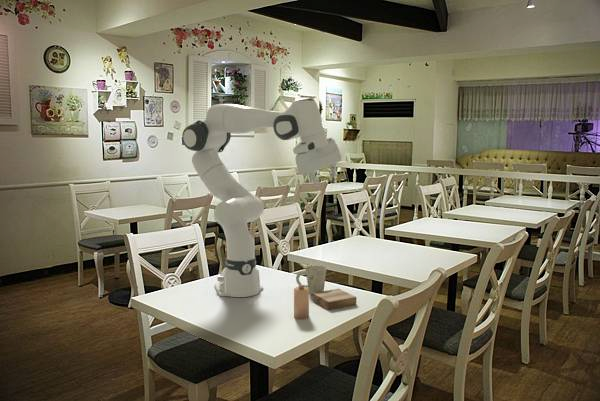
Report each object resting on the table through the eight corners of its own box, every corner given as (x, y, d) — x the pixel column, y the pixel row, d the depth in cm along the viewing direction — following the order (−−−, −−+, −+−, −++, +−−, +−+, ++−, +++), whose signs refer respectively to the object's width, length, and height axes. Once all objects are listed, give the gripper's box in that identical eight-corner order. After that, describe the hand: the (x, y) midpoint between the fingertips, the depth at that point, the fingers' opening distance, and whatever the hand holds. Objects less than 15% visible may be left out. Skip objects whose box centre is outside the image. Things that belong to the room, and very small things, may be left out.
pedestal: (312, 300, 193) (312, 293, 192) (338, 295, 198) (338, 288, 198) (329, 310, 182) (329, 302, 182) (356, 304, 188) (356, 297, 187)
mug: (324, 295, 198) (324, 271, 197) (293, 294, 201) (293, 269, 200) (327, 289, 206) (327, 266, 205) (297, 288, 209) (297, 264, 208)
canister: (291, 315, 177) (291, 284, 175) (304, 313, 179) (304, 282, 178) (298, 320, 172) (298, 288, 171) (311, 317, 175) (311, 286, 173)
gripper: (326, 138, 186) (336, 173, 188) (289, 150, 171) (300, 189, 174) (339, 135, 181) (349, 171, 183) (302, 148, 167) (313, 187, 169)
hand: (325, 180), depth 178 cm, fingers open, 8 cm apart
